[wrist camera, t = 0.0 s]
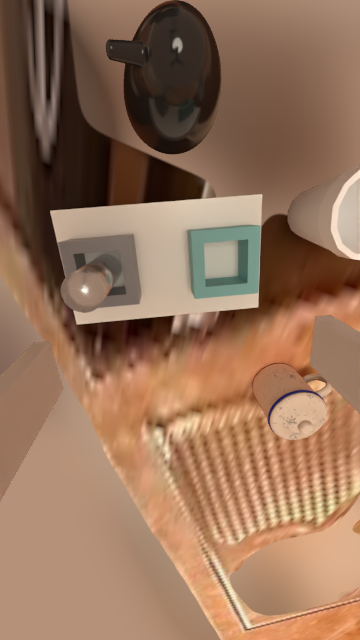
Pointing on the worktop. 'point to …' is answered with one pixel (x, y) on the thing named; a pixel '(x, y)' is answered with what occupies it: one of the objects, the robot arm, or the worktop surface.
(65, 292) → the lock pin
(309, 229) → the foam cup
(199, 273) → the socket
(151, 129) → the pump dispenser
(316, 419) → the teacup with lid
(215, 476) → the worktop surface
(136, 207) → the mount board
